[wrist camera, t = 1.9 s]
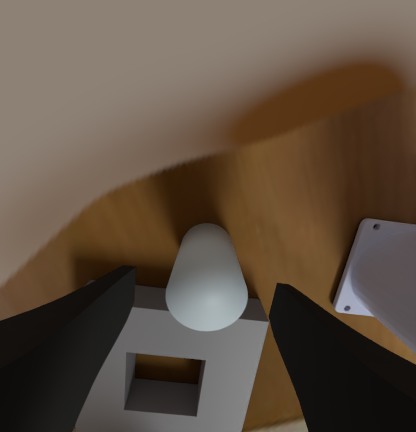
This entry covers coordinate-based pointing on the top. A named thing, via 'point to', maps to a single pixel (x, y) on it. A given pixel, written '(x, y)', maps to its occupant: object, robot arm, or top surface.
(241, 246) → the top surface
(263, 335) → the dock
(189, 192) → the top surface
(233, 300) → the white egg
